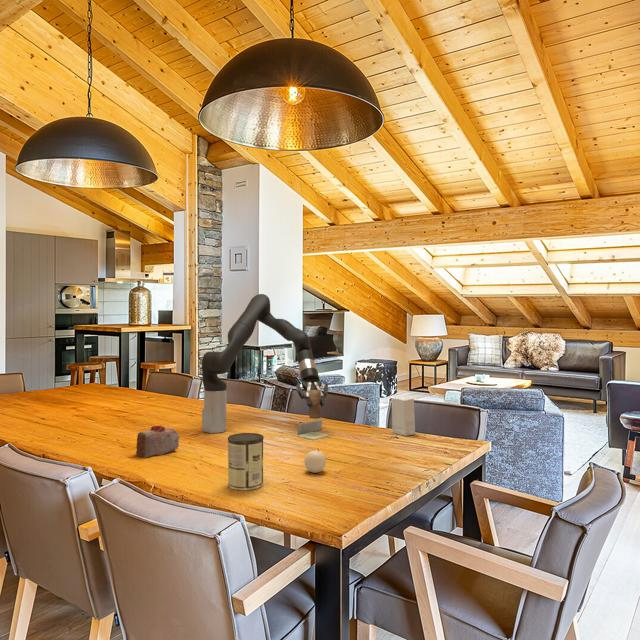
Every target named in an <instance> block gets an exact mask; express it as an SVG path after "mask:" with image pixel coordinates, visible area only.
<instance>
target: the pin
mask: <svg viewBox="0 0 640 640" xmlns="http://www.w3.org/2000/svg"><path fill="white" fill-rule="evenodd" d="M321 392H322V389H321V390H309V397H310V400H311V407H309V406H308V408H309V410H308V411H309V419H313V420H314V419H317V420H318V419H321V418H322V417H321V414H322V412H321V411H322V407H321Z"/></svg>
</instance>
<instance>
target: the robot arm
mask: <svg viewBox="0 0 640 640" xmlns="http://www.w3.org/2000/svg"><path fill="white" fill-rule="evenodd" d="M257 321H258V322H260V323H262V324H263V325H265V326H266V327H269V328H271V329H272V330H273V331H275V332H276V333H278V334H279V335H280V336H281V337H283V339H285V340H286V341H287V342H292V344H293V346H294V348H295V351H296V355H297V356H296V359H297V364H298V372H299V376H300V381H301V384H299V383H297V384H296V385H295V386H296V387H295V390H296V392H297V394H298V396H299V398H300V399H301V400H305V403H306V406H307V407H308V408H309V407H311V400H310V397H309V390H321V408H322V407H324V406H325V403H326V401H325V399H326V398H327V396H328V390H329V383H327V382H325V383H322V382H321V380H320V375H319V372H318V367H317V365H316V363H315V357H314V354H313V348H312V345H311V341H310V338H309V336H308V334H307V333H306V331H304V330H302V329H300V328H298V327H296V326H294V324H292V323H291V322H290V321H288V320H287V319H284V318H277V317H275V316H274V315H273V314H272V312H271V300H270V298H269V296H268V295H267V294H264V293H259V294H256V295H254V296H253V297H252V298H251V299H250V301H249V302H248V304H247V306H246V307H245V309H244V310H243V312H242V313H241V315H240V316H239V317H238V319H237V320H236V321H235V322H234V323H233V325H232V326H231V328H229V330H228V332H227V343H228V344H227V346H226V347H225V348H224V350H222V351H206V352H205V353H204V354H203V356H202V360H201V375H202V377H201V378H202V384H203V408H201V431H202V432H204V433H208V434H218V433H223V432H227V388H228V387H227V383H226V382H225V381H223V380H221V379H220V377H218V375H223V374H226V373H227V372H229V370H230V369H231V367H232V366H233V363H234V362H235V360H236V359H237V357H238V355H239V353H240V351H241V350H242V349H243V347H244V346H245V344H246V343H247V342H248V341H249V339H250V338H251V336H252V335H253V333H254V331H255V327H256V325H257ZM321 388H322V389H321ZM303 390H304V391H303ZM322 390H323V391H322ZM304 392H305V393H304Z"/></svg>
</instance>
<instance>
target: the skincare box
mask: <svg viewBox="0 0 640 640" xmlns="http://www.w3.org/2000/svg"><path fill="white" fill-rule="evenodd" d="M415 418H416V417H415V398H412V397H411V398H410V397H404V396H398V397H392V398H391V423H392V424H391V427H392V428H391V429H392V434H397V435H399V436H400V435H401V436H405V437H407V436H414V435H416V422H415V421H416V419H415Z"/></svg>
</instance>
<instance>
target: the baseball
mask: <svg viewBox="0 0 640 640" xmlns="http://www.w3.org/2000/svg"><path fill="white" fill-rule="evenodd" d="M303 461H304V462H303V463H304V466H305V469H306V470H307V472H310V473H314V474H315V473H316V474H317V473H321V472H322V471H324V470H325V468H326V465H327V458H326V456H325V454H324V453H323V452H321V451H320V450H311V451H309V452H308V453H307V454H306V455H305V457H304V460H303Z"/></svg>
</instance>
